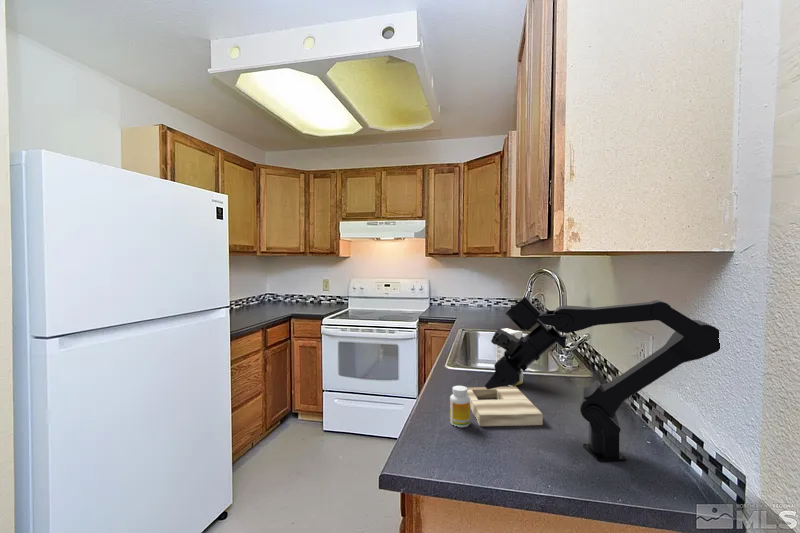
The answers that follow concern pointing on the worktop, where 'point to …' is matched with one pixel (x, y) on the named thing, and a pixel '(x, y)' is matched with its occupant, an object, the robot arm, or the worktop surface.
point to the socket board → (502, 407)
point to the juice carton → (501, 350)
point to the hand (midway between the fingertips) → (490, 381)
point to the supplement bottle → (460, 407)
